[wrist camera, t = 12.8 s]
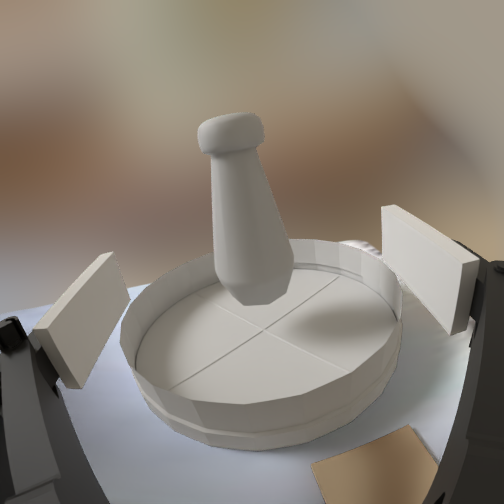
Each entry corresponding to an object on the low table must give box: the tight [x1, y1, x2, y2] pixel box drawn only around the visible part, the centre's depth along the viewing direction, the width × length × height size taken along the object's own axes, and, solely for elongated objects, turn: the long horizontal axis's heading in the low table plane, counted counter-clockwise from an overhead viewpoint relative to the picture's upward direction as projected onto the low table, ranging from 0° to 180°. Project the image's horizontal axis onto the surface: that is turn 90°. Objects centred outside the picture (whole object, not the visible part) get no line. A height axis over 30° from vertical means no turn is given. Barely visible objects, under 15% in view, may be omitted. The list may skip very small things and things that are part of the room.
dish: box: [120, 239, 403, 451], centre depth 25 cm, size 22×22×5 cm
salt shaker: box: [198, 112, 294, 306], centre depth 21 cm, size 6×6×13 cm
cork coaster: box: [311, 425, 438, 504], centre depth 11 cm, size 6×6×1 cm
